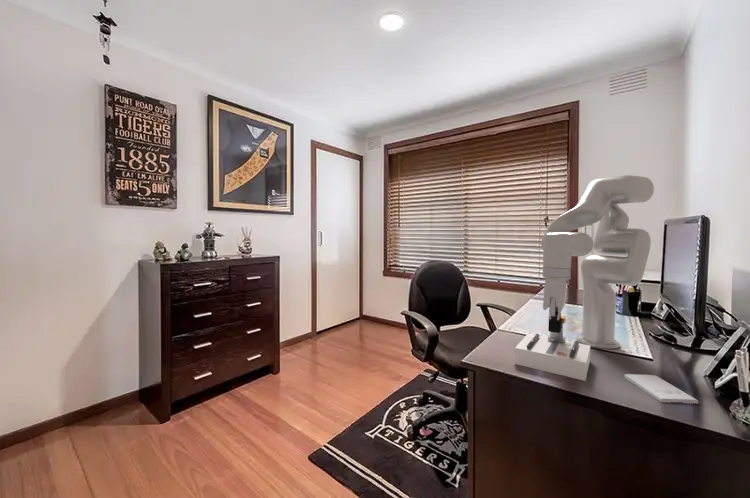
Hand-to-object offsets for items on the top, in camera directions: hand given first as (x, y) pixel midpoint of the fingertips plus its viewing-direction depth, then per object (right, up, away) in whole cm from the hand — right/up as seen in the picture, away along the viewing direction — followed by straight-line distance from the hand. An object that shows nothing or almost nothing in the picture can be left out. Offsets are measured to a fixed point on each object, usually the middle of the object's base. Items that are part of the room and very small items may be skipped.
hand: (554, 331), depth 98 cm
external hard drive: (+16, -11, -18) cm, 26 cm away
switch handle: (+3, -4, +4) cm, 6 cm away
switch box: (-1, -9, -1) cm, 9 cm away
